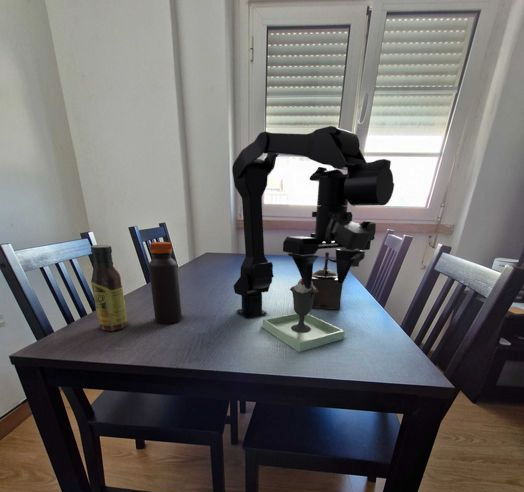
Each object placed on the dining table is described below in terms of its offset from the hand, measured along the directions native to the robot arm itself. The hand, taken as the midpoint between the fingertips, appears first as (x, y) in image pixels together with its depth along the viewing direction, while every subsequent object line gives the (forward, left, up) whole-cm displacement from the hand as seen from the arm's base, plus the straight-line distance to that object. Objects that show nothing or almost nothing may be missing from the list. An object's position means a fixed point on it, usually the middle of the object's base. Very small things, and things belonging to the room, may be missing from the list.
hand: (324, 285), depth 59 cm
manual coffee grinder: (-19, +22, -14) cm, 32 cm away
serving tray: (-6, 0, -13) cm, 15 cm away
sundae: (-7, +1, -13) cm, 15 cm away
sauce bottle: (-31, -39, -14) cm, 52 cm away
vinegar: (-30, -26, -14) cm, 42 cm away
